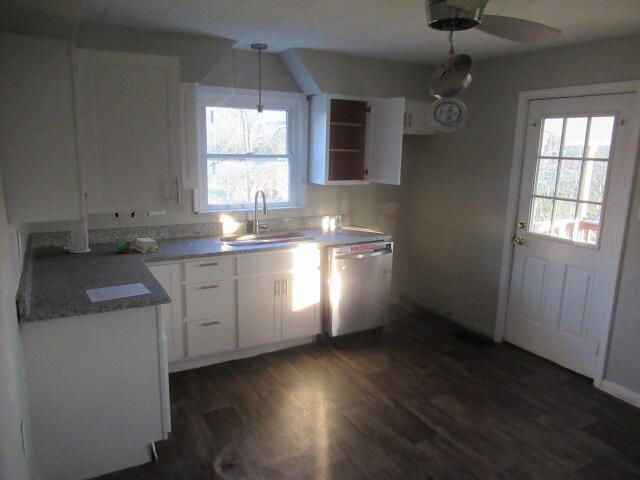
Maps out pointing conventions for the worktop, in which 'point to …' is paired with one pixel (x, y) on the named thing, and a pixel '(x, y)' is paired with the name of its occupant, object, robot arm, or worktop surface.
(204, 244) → the worktop surface
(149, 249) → the base slab
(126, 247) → the food container
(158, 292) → the worktop surface
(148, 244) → the top slab
